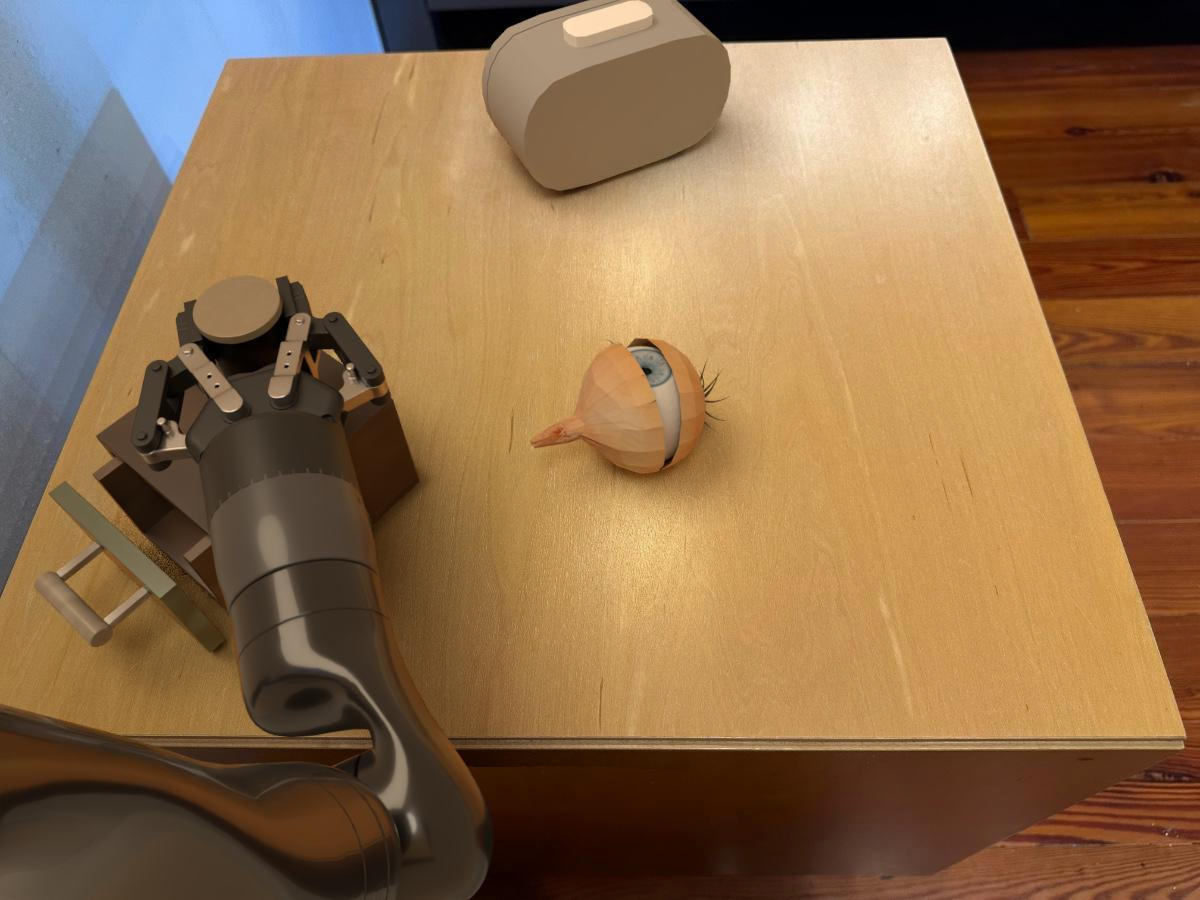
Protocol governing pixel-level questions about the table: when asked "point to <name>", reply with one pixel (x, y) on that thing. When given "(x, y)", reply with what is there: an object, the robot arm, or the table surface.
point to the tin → (242, 323)
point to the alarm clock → (604, 88)
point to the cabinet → (367, 434)
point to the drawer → (134, 558)
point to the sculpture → (637, 407)
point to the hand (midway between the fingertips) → (240, 299)
